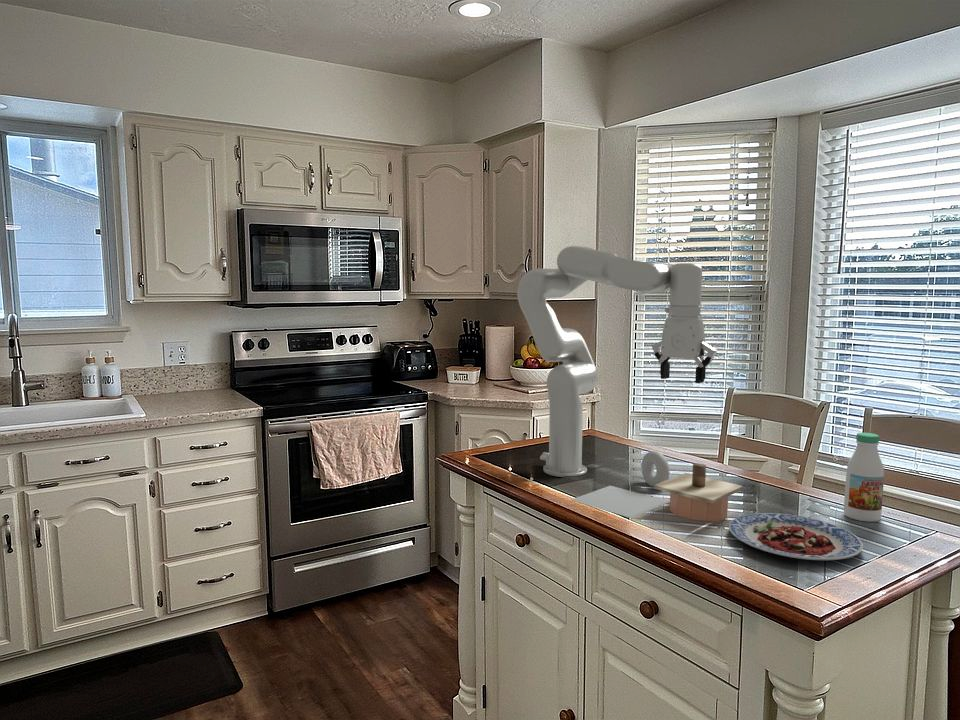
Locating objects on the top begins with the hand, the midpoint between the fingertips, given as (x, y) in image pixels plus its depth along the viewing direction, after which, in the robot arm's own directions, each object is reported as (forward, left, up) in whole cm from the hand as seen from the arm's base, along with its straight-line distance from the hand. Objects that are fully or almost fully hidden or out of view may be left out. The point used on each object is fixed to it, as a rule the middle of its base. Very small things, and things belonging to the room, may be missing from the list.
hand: (682, 380), depth 169 cm
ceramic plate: (+33, -10, -31) cm, 46 cm away
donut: (-8, +2, -31) cm, 32 cm away
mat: (-7, -15, -30) cm, 35 cm away
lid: (+10, -8, -24) cm, 27 cm away
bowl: (+10, -8, -30) cm, 33 cm away
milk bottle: (+38, +18, -31) cm, 52 cm away
